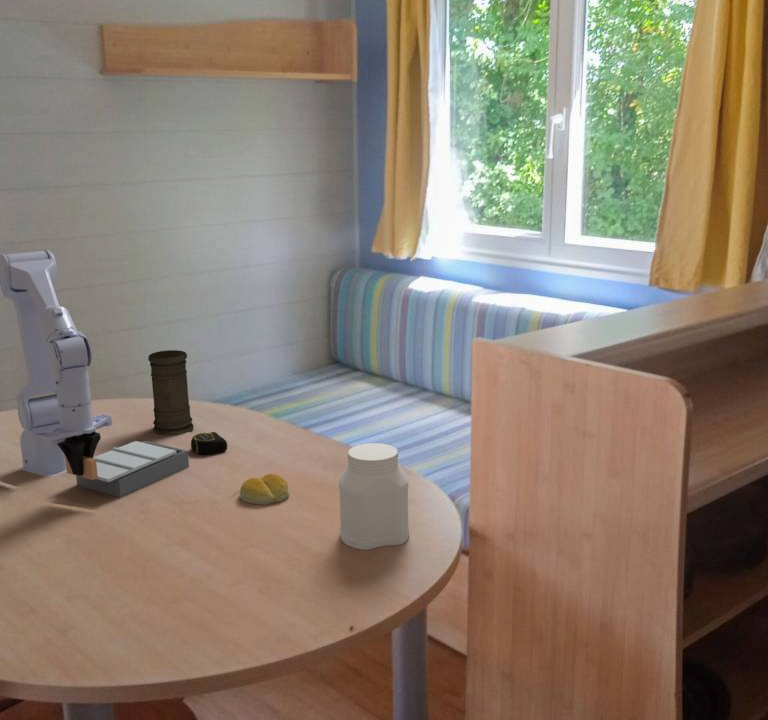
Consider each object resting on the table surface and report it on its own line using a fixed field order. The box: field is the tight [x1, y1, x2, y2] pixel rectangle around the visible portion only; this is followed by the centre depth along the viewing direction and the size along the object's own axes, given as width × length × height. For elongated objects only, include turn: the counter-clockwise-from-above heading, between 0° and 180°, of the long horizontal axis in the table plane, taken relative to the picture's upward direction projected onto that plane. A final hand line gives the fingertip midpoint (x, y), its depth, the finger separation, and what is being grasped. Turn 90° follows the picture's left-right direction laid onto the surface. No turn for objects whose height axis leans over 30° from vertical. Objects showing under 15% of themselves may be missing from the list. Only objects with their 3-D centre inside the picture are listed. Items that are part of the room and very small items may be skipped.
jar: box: [338, 442, 410, 551], centre depth 155 cm, size 12×10×15 cm
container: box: [147, 349, 195, 436], centre depth 210 cm, size 9×9×18 cm
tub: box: [75, 440, 190, 498], centre depth 184 cm, size 12×18×4 cm, turn 148°
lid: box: [65, 440, 177, 482], centre depth 180 cm, size 11×19×4 cm, turn 148°
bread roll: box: [239, 473, 291, 506], centre depth 174 cm, size 8×9×4 cm
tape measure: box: [190, 431, 228, 456], centre depth 197 cm, size 7×7×4 cm
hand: (81, 472), depth 173 cm, fingers closed on lid
